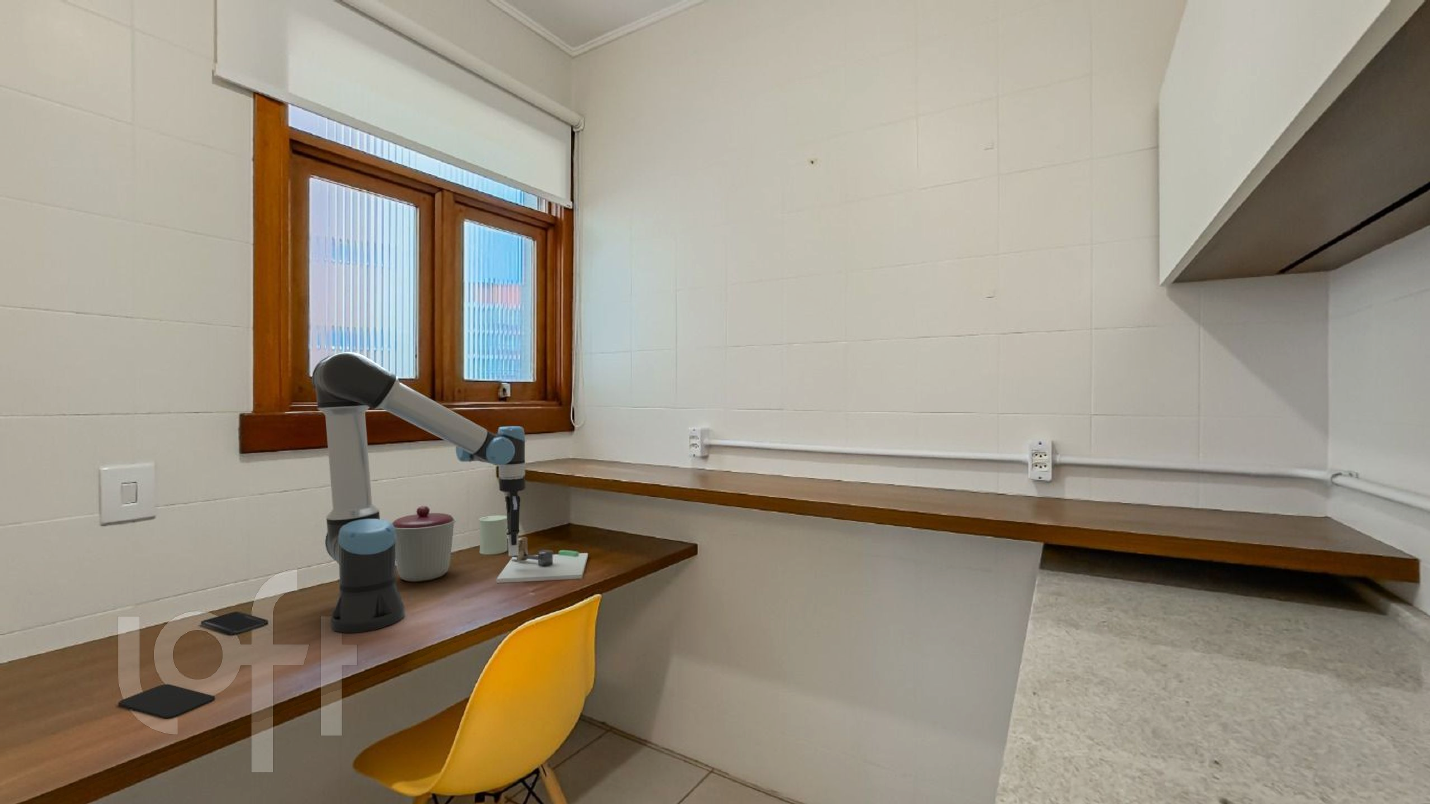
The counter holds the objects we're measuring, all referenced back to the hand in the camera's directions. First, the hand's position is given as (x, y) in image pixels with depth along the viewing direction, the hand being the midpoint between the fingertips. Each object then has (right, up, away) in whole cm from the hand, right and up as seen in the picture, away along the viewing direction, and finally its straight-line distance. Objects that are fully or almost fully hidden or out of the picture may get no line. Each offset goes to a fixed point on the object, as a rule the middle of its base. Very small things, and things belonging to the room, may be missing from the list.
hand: (513, 554), depth 180 cm
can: (-16, -6, +26) cm, 31 cm away
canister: (-26, -6, -3) cm, 27 cm away
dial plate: (+9, -5, +4) cm, 11 cm away
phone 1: (-36, -7, -75) cm, 83 cm away
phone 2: (-53, -7, -39) cm, 66 cm away
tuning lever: (+4, -4, +6) cm, 8 cm away
